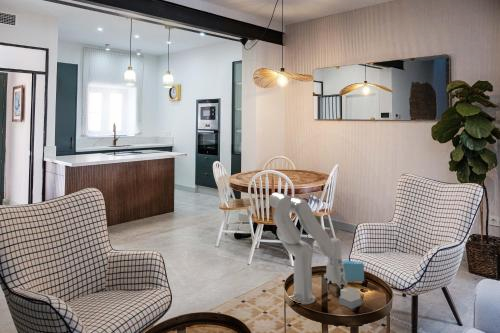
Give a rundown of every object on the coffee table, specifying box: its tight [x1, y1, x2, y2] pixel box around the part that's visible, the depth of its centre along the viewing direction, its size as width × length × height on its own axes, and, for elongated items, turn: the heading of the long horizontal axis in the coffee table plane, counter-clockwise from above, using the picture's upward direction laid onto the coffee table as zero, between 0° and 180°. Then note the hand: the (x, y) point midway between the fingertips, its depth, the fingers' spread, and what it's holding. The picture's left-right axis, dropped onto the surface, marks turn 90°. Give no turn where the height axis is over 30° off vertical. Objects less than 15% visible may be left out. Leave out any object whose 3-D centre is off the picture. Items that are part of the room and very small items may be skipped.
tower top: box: [340, 286, 362, 302], centre depth 192 cm, size 7×7×4 cm
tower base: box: [338, 295, 363, 310], centre depth 193 cm, size 8×8×4 cm
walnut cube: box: [328, 282, 340, 297], centre depth 207 cm, size 5×5×5 cm
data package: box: [342, 260, 365, 282], centre depth 223 cm, size 12×4×12 cm, turn 75°
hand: (335, 292), depth 207 cm, fingers open, 6 cm apart
